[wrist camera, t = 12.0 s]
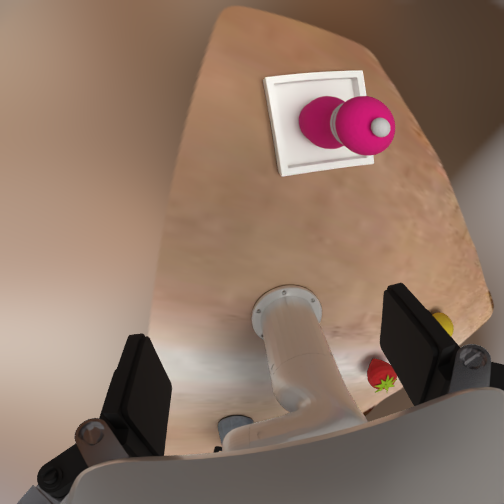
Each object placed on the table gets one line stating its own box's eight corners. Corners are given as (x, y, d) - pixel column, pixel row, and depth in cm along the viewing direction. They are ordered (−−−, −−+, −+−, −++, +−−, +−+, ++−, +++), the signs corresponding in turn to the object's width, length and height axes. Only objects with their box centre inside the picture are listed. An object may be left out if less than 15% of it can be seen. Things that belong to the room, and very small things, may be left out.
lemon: (417, 326, 60) (434, 349, 53) (427, 305, 58) (446, 326, 51) (434, 326, 61) (451, 347, 54) (444, 306, 59) (463, 326, 52)
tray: (365, 160, 45) (373, 163, 42) (278, 172, 45) (282, 176, 42) (354, 72, 39) (362, 70, 37) (262, 80, 39) (265, 77, 37)
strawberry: (374, 373, 65) (389, 404, 56) (353, 364, 63) (369, 397, 54) (392, 355, 63) (410, 386, 54) (372, 345, 61) (390, 377, 52)
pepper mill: (350, 113, 41) (429, 117, 23) (329, 154, 44) (396, 183, 25) (308, 88, 39) (369, 71, 21) (286, 131, 42) (332, 142, 24)
